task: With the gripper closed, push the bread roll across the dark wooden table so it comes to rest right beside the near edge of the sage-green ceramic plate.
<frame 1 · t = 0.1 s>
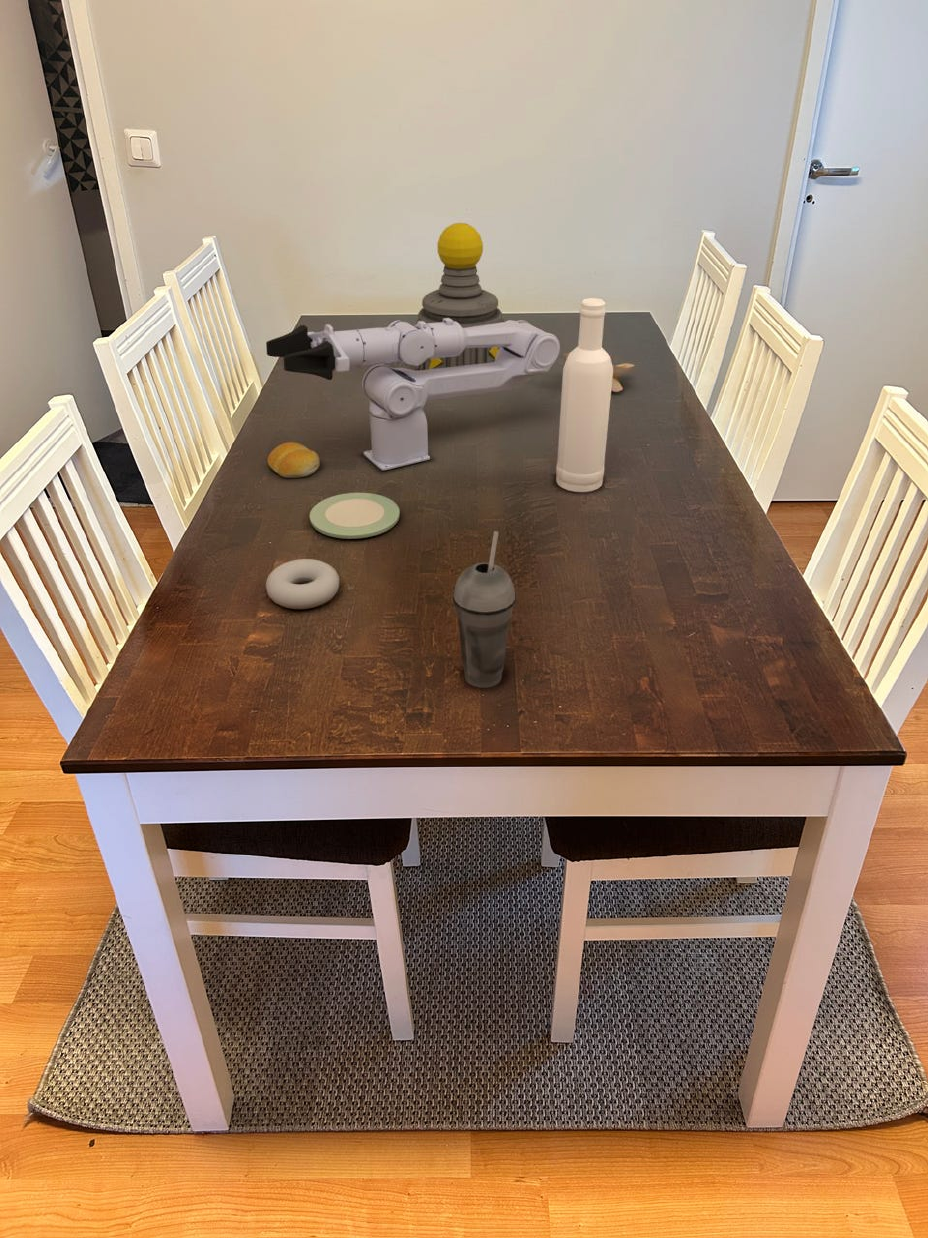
hand: (275, 355, 144), 22 cm above the table, tool horizontal, fingers open, 7 cm apart
decorative flower: (600, 387, 193), on the table
beverage cup: (483, 677, 113), on the table
bread roll: (294, 469, 161), on the table
bottle: (579, 483, 156), on the table
plate: (355, 519, 146), on the table
decorative lamp: (460, 372, 200), on the table
donut: (304, 595, 128), on the table
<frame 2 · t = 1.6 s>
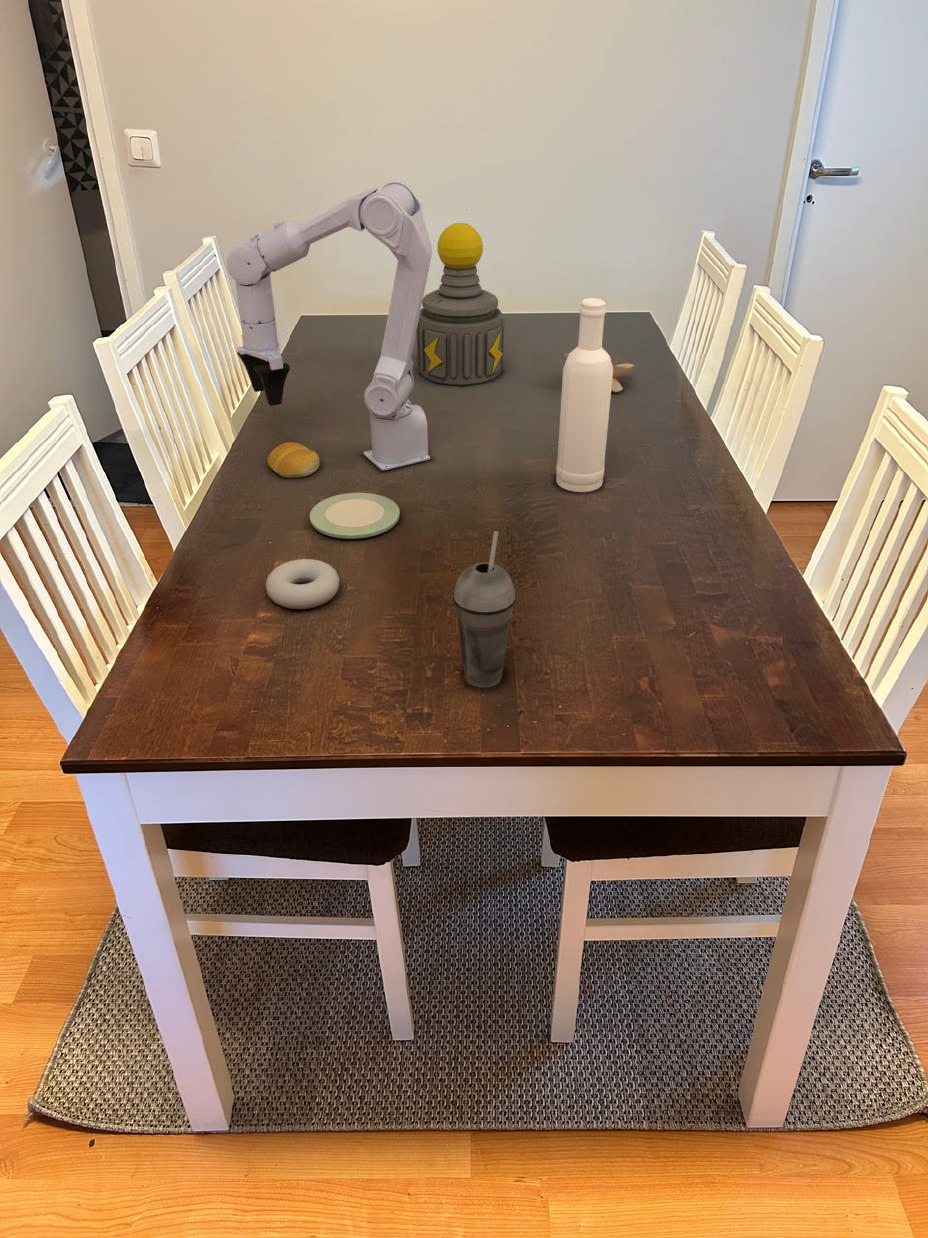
hand: (267, 397, 162), 9 cm above the table, tool pointing down, fingers open, 7 cm apart
nothing on the table moved.
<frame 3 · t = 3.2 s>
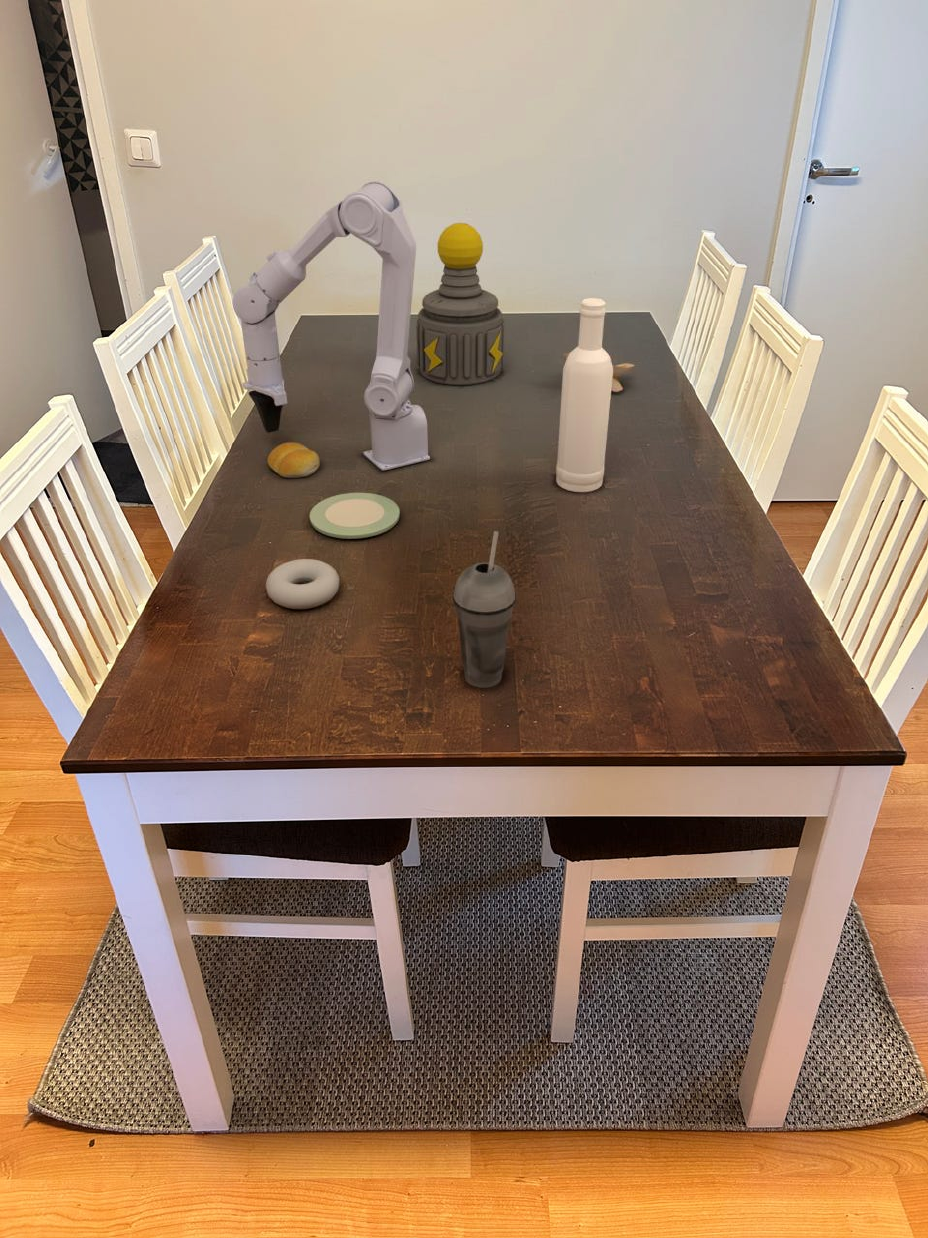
hand: (271, 430, 166), 3 cm above the table, tool pointing down, fingers closed
nothing on the table moved.
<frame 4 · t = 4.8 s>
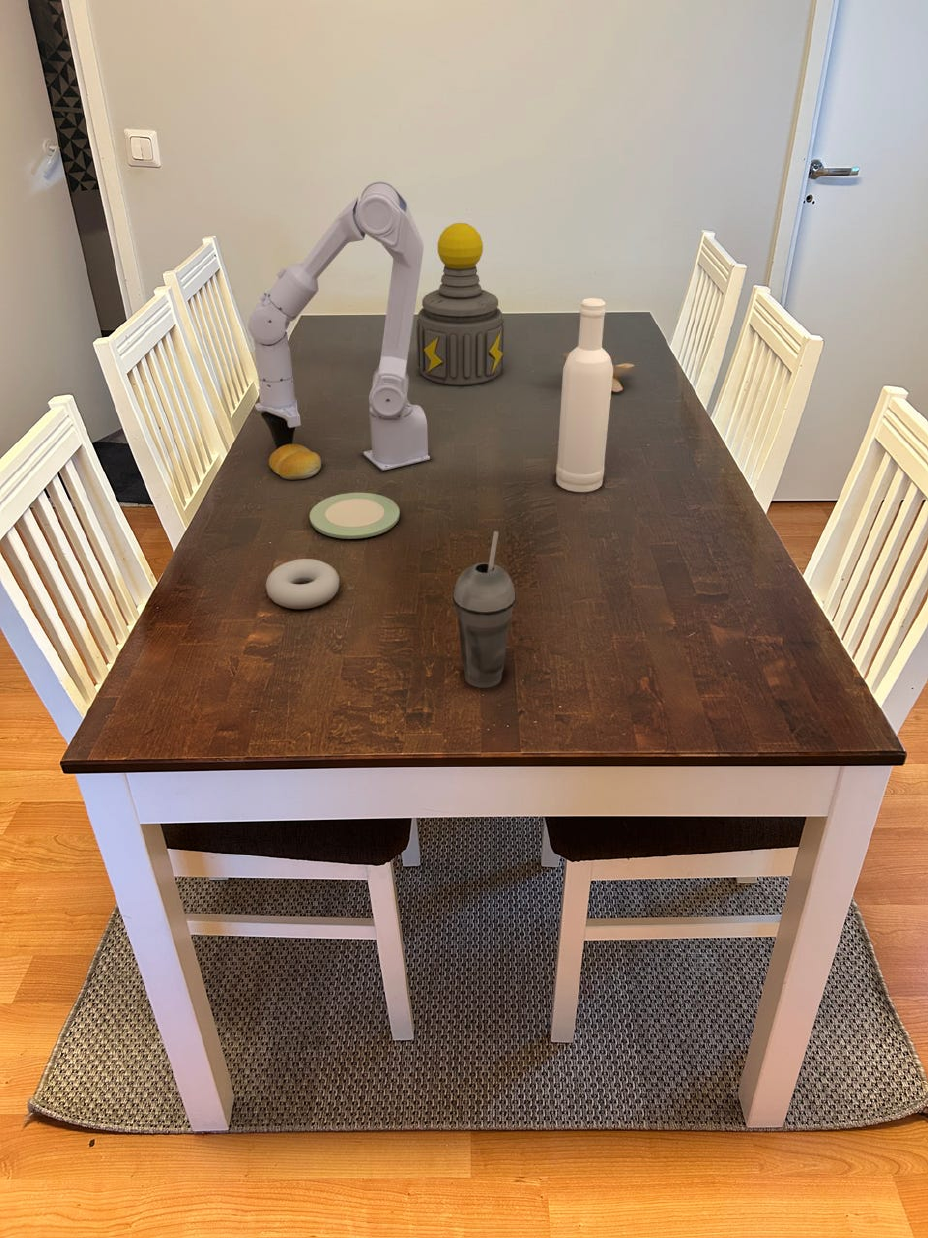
hand: (284, 451, 163), 1 cm above the table, tool pointing down, fingers closed
bread roll: (295, 470, 160), on the table, touching gripper
everything else where it was.
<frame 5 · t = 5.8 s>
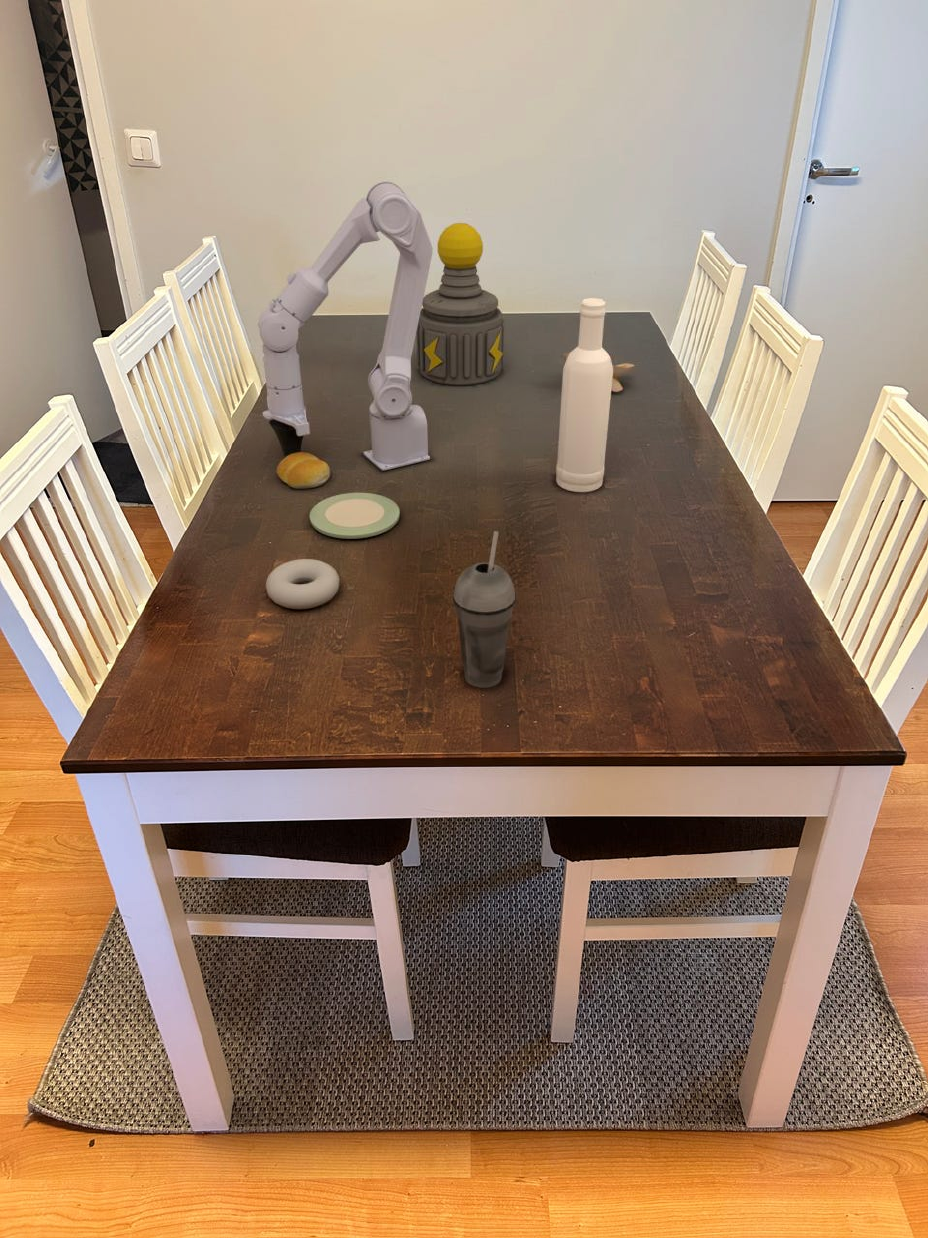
hand: (292, 459, 160), 1 cm above the table, tool pointing down, fingers closed
bread roll: (304, 479, 157), on the table, touching gripper
everything else where it was.
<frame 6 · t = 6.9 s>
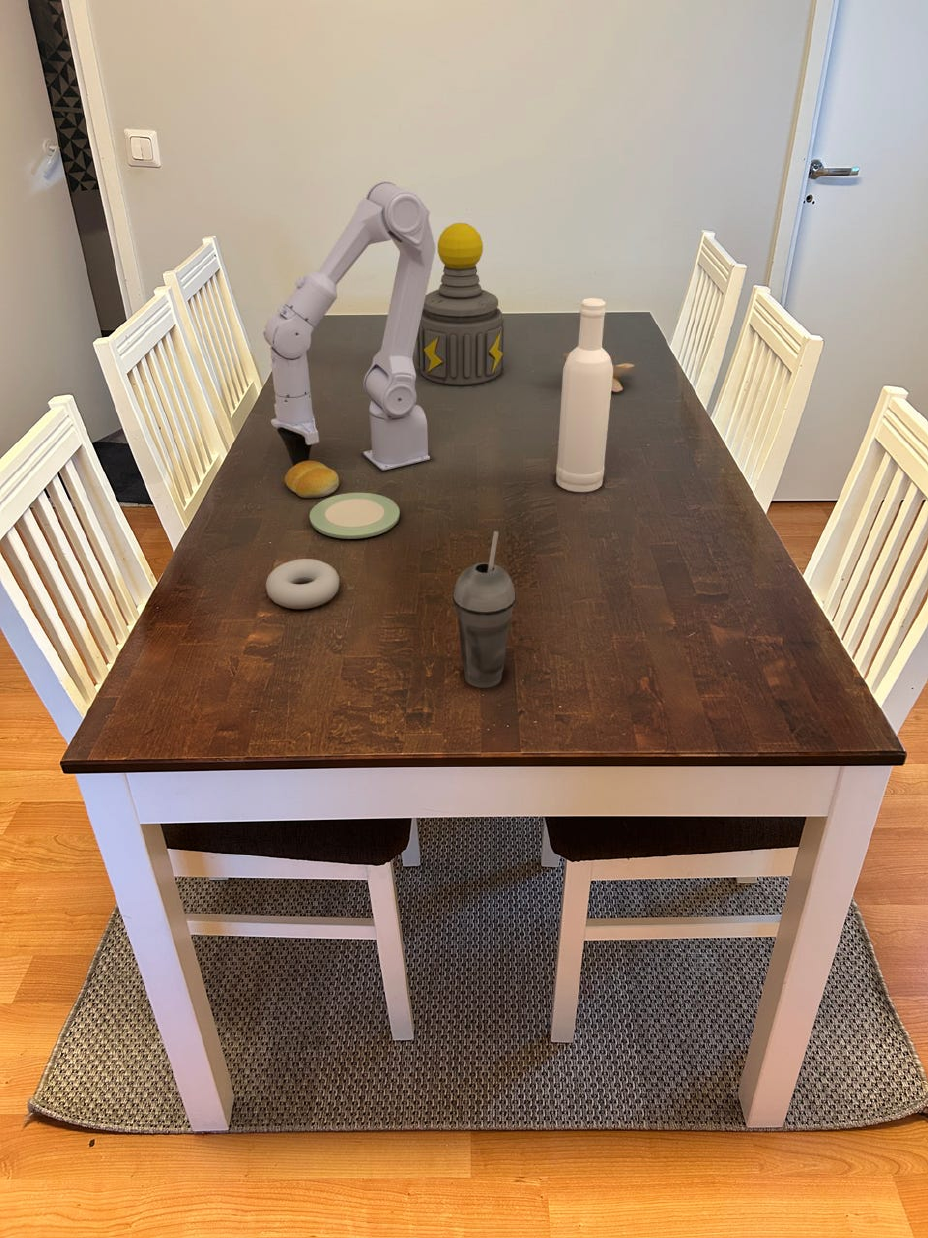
hand: (301, 468, 157), 1 cm above the table, tool pointing down, fingers closed
bread roll: (312, 488, 155), on the table, touching gripper
everything else where it was.
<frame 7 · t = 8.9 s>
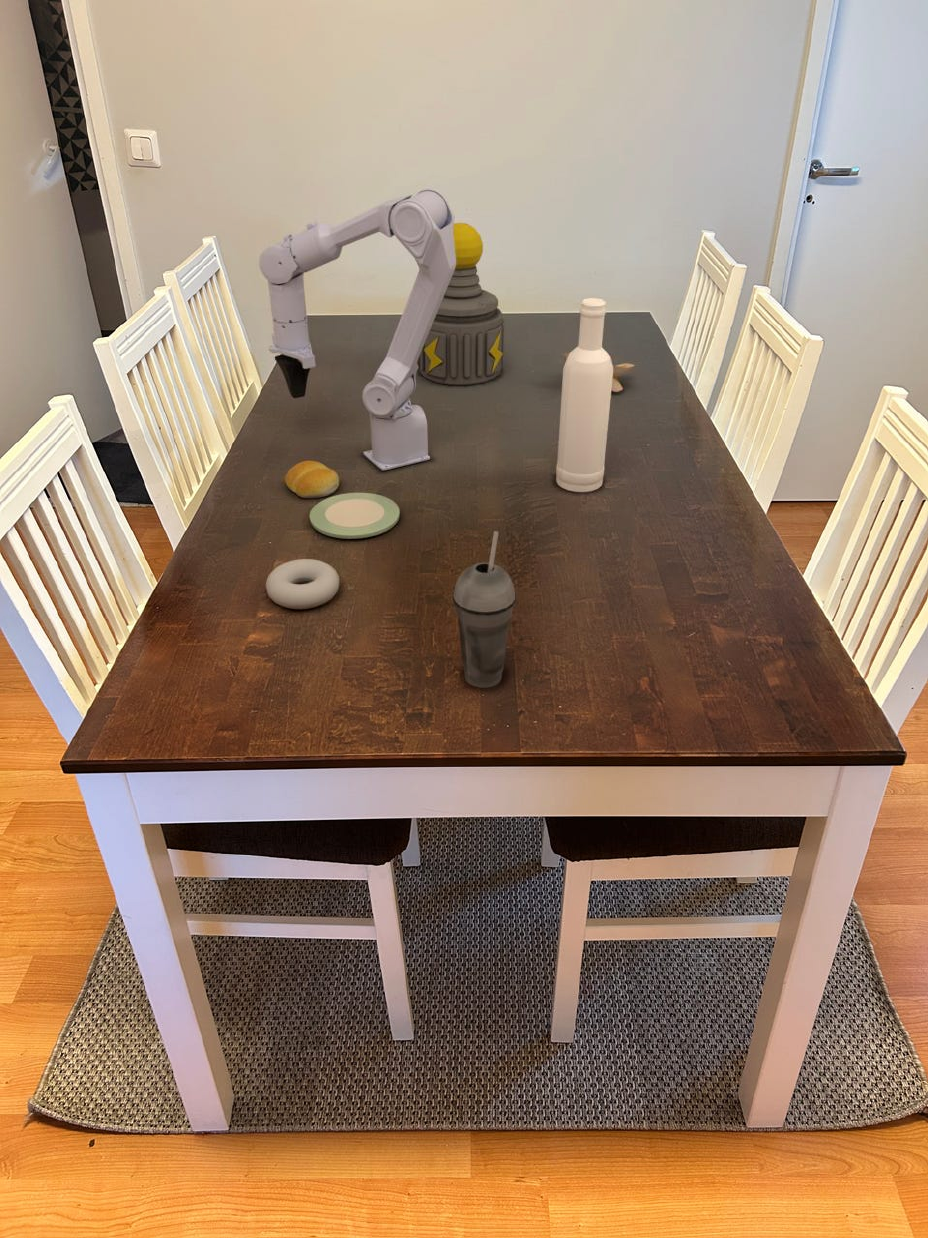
hand: (298, 396, 163), 9 cm above the table, tool pointing down, fingers closed
bread roll: (312, 488, 155), on the table
everything else where it was.
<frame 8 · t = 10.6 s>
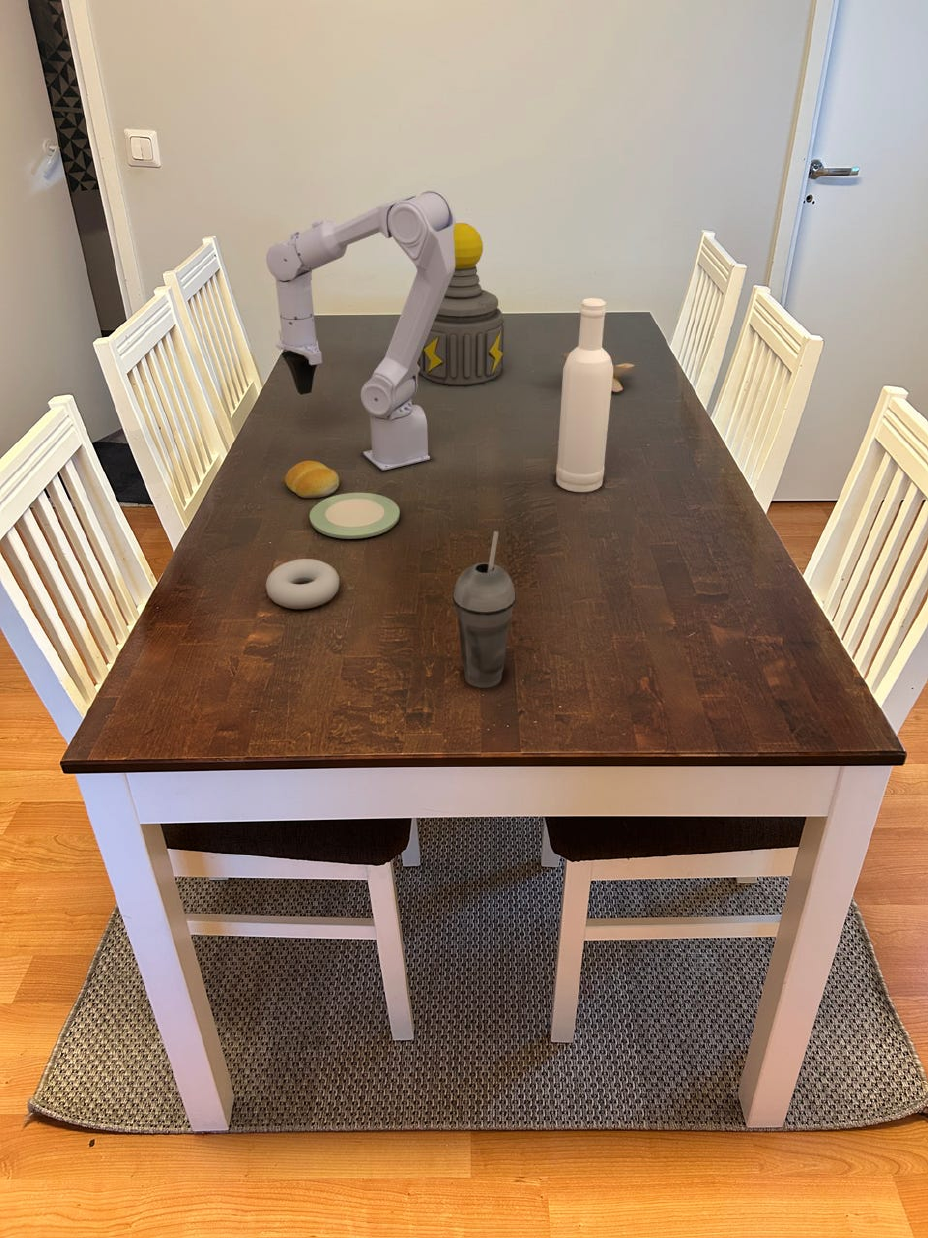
hand: (304, 392, 164), 9 cm above the table, tool pointing down, fingers closed
nothing on the table moved.
at the end: bread roll inside the target area (0.1 cm from its centre), on the table; bread roll moved 8.5 cm from its start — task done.
